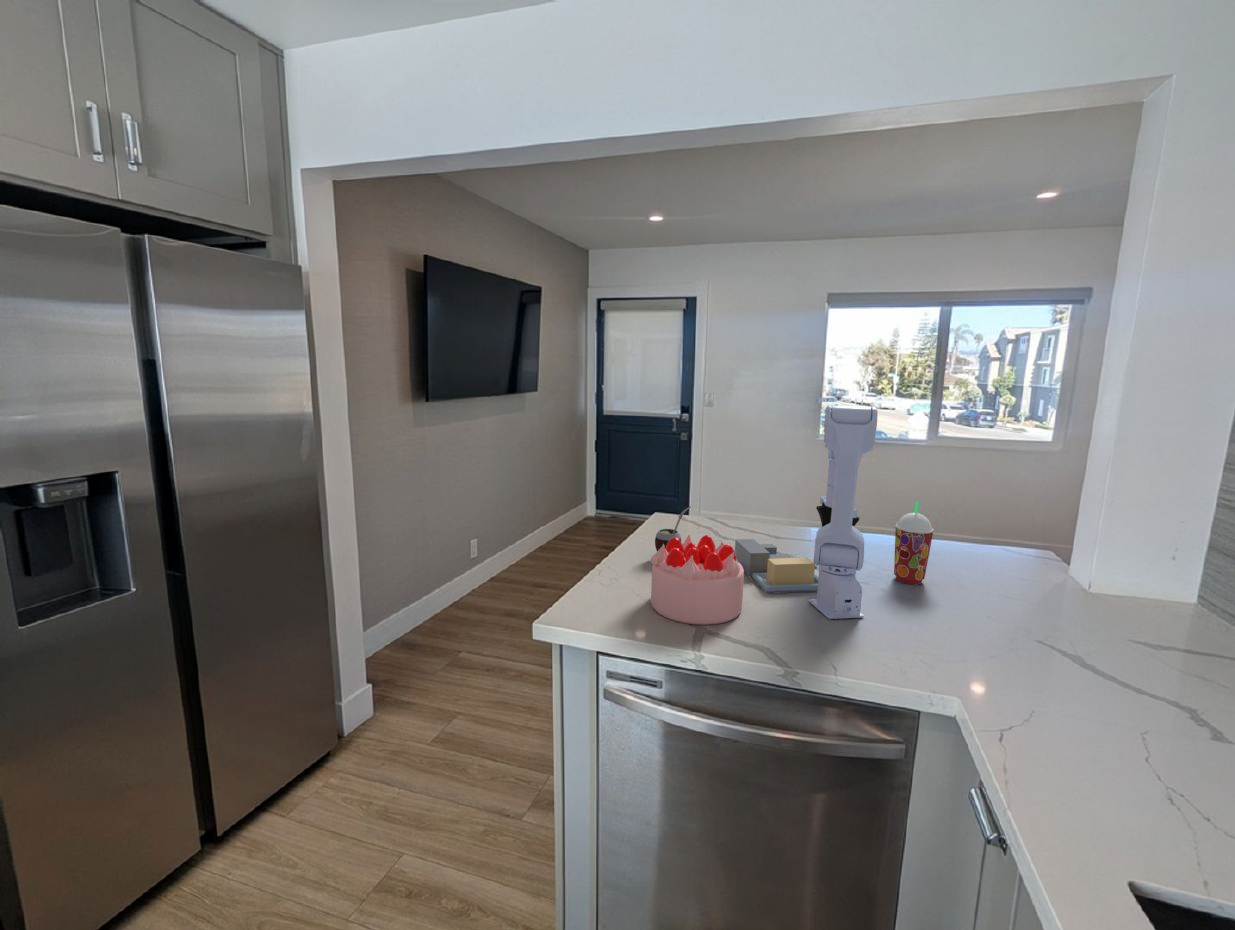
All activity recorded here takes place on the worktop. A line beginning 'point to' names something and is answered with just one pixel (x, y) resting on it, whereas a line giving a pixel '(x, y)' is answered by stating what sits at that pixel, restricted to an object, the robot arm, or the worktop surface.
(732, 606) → the cake
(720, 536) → the worktop surface
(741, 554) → the dock
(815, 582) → the tray
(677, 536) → the mate gourd
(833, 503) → the robot arm
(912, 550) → the smoothie
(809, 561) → the tan block with handle
